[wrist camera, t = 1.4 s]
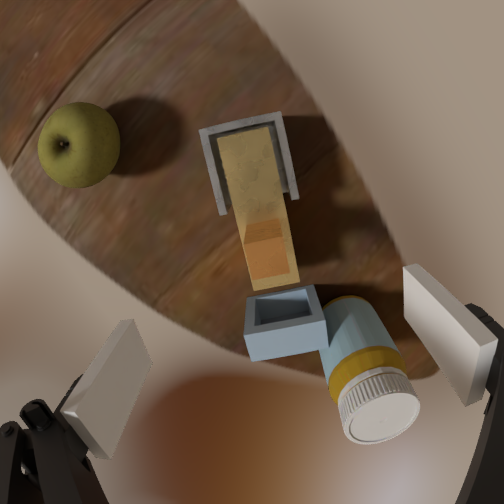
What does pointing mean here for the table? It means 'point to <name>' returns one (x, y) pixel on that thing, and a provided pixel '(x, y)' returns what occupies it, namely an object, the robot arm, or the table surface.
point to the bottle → (366, 373)
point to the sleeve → (238, 126)
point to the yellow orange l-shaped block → (259, 207)
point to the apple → (79, 145)
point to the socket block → (284, 324)
